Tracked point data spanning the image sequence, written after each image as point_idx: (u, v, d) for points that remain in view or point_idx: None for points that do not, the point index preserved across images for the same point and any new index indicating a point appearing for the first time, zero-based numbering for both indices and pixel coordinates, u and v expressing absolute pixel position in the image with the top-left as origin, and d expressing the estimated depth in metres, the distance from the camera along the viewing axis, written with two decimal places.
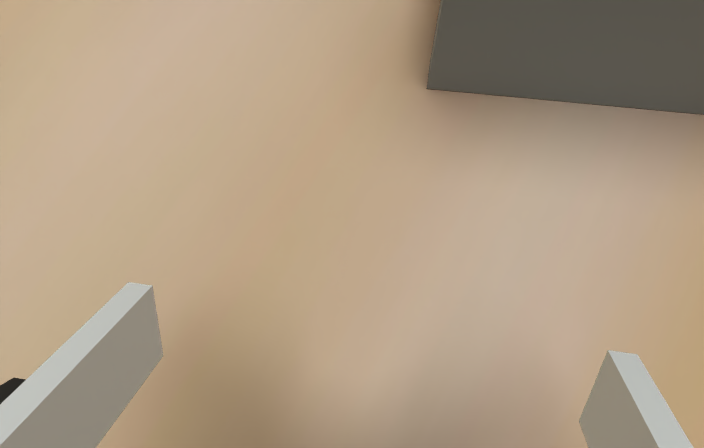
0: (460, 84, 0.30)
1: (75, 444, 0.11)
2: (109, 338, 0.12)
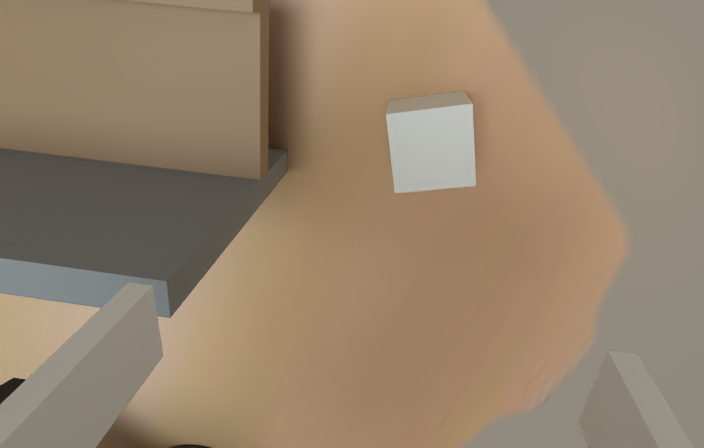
0: None
1: (75, 444, 0.11)
2: (109, 338, 0.12)
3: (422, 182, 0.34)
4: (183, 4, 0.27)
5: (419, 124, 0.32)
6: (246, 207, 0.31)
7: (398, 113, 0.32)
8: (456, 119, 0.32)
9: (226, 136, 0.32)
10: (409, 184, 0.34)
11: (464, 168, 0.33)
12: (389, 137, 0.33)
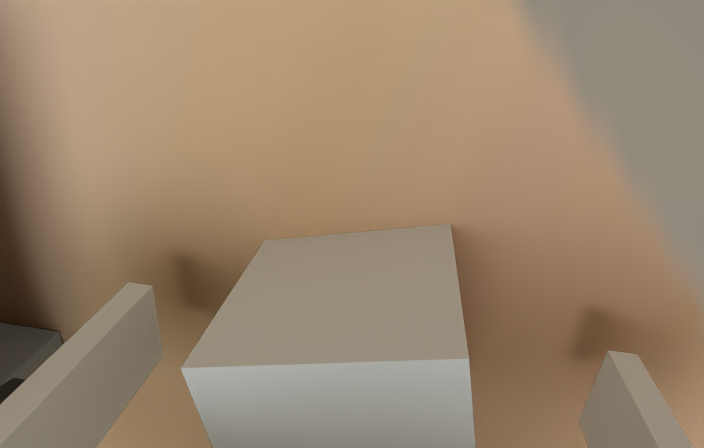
0: None
1: (75, 444, 0.11)
2: (109, 338, 0.12)
3: None
4: None
5: (294, 401, 0.10)
6: None
7: (220, 367, 0.10)
8: (412, 397, 0.09)
9: None
10: None
11: None
12: (206, 424, 0.10)
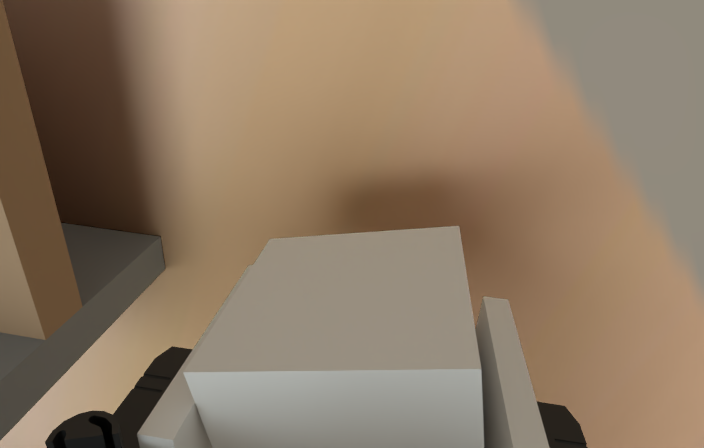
0: None
1: None
2: None
3: None
4: None
5: (299, 408, 0.09)
6: None
7: (224, 372, 0.09)
8: (422, 407, 0.09)
9: None
10: None
11: None
12: (209, 429, 0.10)
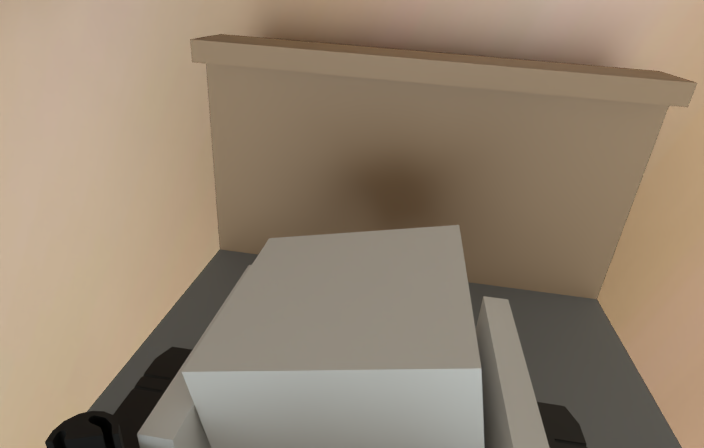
0: None
1: None
2: None
3: None
4: (584, 95, 0.20)
5: (298, 408, 0.09)
6: None
7: (223, 372, 0.09)
8: (421, 406, 0.09)
9: (566, 248, 0.25)
10: None
11: None
12: (207, 429, 0.10)
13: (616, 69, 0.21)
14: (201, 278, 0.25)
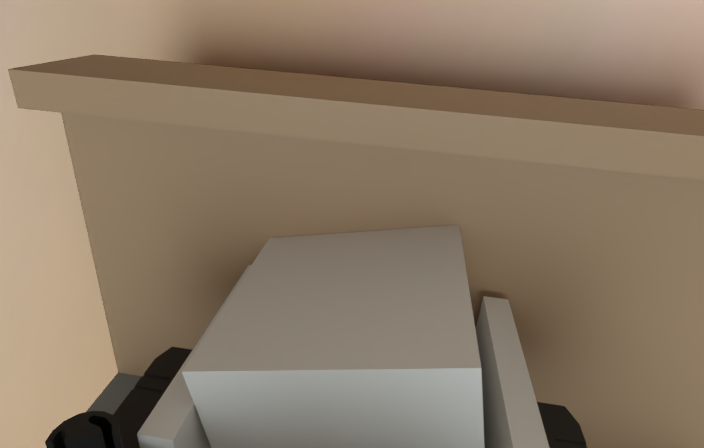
0: None
1: None
2: None
3: None
4: None
5: (298, 408, 0.09)
6: None
7: (223, 372, 0.09)
8: (421, 406, 0.09)
9: (651, 397, 0.15)
10: None
11: None
12: (207, 429, 0.10)
13: None
14: None
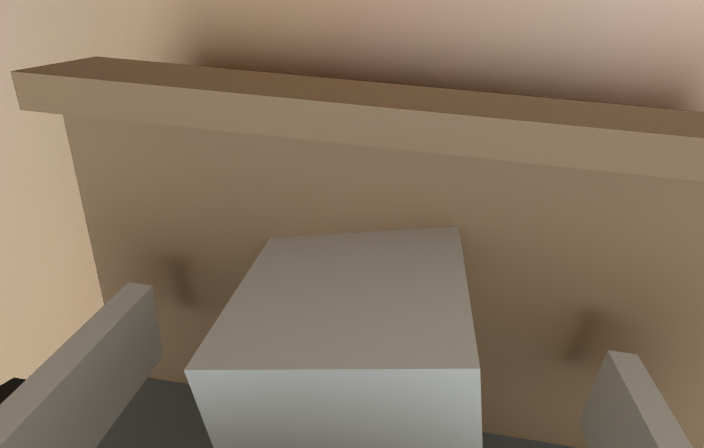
0: None
1: (75, 444, 0.11)
2: (109, 338, 0.12)
3: None
4: None
5: (299, 406, 0.10)
6: None
7: (224, 370, 0.09)
8: (420, 405, 0.09)
9: None
10: None
11: None
12: (208, 427, 0.10)
13: None
14: None
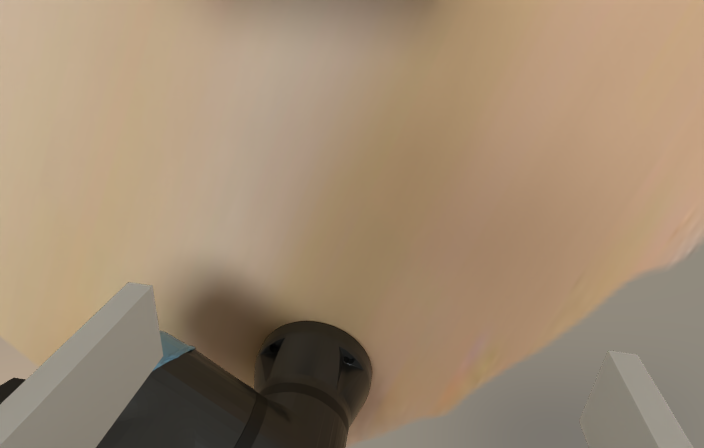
0: None
1: (75, 444, 0.11)
2: (109, 338, 0.12)
3: None
4: None
5: None
6: None
7: None
8: None
9: None
10: None
11: None
12: None
13: None
14: None
